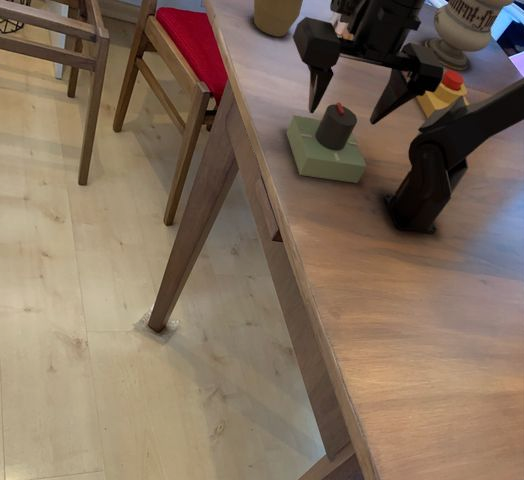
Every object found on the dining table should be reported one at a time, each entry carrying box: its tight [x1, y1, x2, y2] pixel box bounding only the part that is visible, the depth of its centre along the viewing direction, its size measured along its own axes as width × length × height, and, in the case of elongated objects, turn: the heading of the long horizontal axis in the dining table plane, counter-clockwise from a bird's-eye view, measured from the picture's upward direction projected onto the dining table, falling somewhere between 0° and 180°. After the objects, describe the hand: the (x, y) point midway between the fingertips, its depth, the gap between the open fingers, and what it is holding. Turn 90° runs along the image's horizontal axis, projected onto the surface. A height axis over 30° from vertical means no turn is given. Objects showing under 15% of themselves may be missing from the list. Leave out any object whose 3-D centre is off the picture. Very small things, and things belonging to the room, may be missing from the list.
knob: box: [315, 102, 358, 150], centre depth 75 cm, size 4×4×4 cm
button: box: [441, 69, 465, 91], centre depth 97 cm, size 4×4×2 cm
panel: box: [286, 114, 368, 184], centre depth 78 cm, size 9×9×3 cm
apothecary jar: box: [424, 0, 516, 71], centre depth 107 cm, size 12×12×18 cm
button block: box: [415, 83, 470, 119], centre depth 99 cm, size 12×9×4 cm
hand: (341, 117), depth 74 cm, fingers open, 9 cm apart
